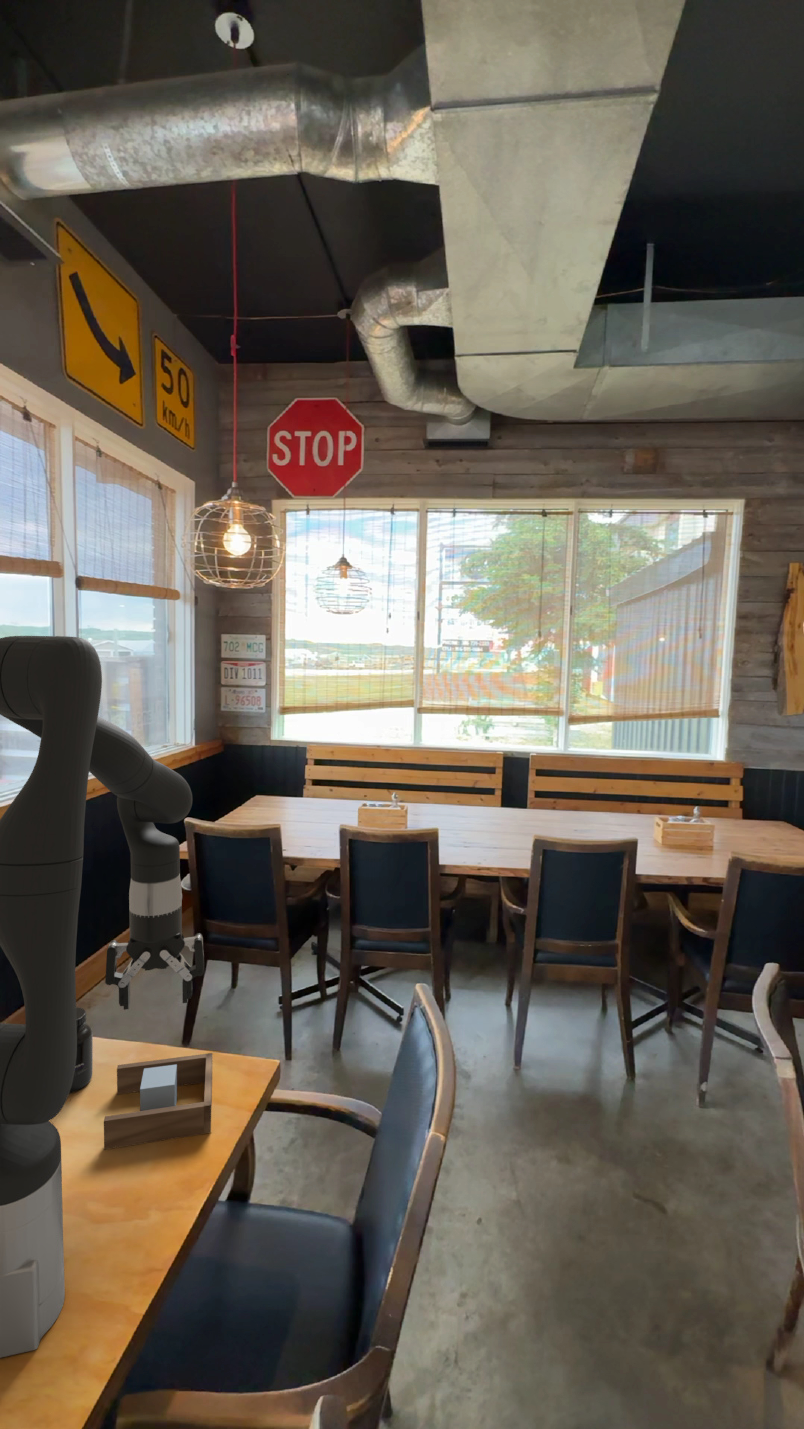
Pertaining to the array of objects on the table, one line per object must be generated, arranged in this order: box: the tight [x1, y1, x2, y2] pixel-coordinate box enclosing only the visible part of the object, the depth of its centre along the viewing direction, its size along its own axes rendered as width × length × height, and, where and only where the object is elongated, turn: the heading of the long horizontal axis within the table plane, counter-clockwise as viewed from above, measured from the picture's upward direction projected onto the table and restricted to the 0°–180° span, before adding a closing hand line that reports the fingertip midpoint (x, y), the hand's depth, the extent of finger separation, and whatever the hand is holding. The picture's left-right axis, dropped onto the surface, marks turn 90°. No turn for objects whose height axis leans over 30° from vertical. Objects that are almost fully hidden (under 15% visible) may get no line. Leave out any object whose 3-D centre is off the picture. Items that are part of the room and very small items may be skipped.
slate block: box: [139, 1064, 178, 1111], centre depth 103 cm, size 5×5×6 cm
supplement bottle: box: [69, 1006, 94, 1094], centre depth 109 cm, size 7×7×12 cm
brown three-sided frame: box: [103, 1052, 213, 1150], centre depth 103 cm, size 13×15×4 cm
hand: (156, 1003), depth 101 cm, fingers open, 8 cm apart
